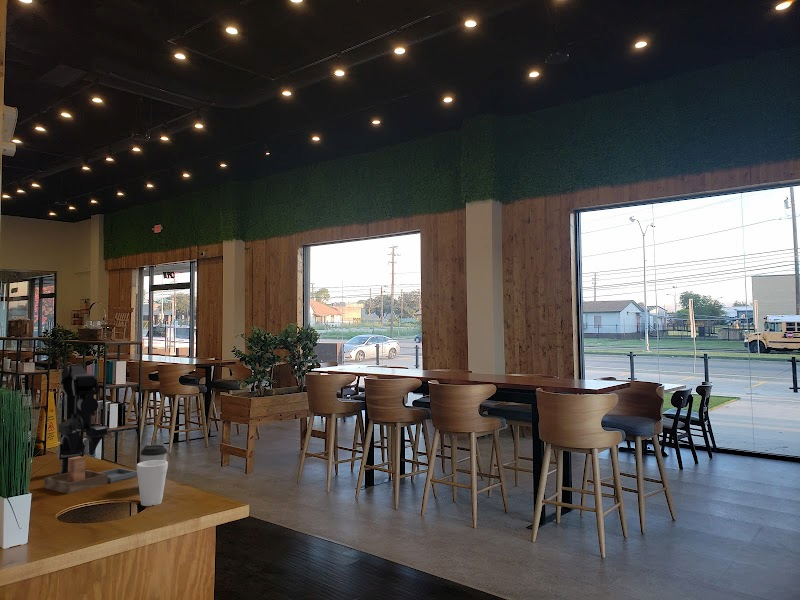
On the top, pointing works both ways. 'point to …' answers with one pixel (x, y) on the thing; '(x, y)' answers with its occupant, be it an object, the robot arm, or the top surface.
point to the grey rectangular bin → (119, 475)
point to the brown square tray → (75, 482)
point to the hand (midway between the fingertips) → (82, 453)
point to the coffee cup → (153, 453)
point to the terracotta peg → (76, 468)
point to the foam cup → (151, 481)
